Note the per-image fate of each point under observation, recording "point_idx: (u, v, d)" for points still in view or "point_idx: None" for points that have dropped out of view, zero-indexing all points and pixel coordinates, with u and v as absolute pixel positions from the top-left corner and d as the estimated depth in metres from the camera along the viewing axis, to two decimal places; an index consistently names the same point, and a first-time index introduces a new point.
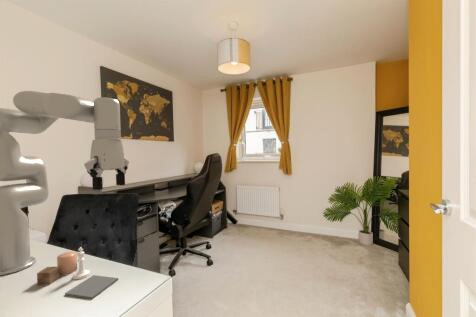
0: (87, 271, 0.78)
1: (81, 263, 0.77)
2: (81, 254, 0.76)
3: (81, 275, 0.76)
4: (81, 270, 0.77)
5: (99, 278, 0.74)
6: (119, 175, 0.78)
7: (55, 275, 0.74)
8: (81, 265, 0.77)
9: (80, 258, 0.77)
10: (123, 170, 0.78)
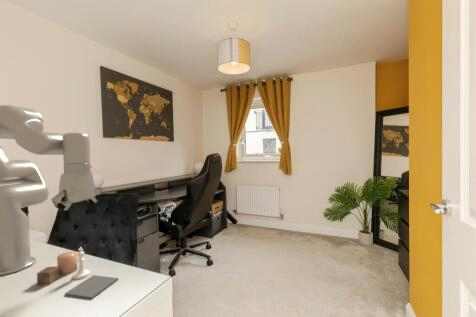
0: (87, 271, 0.78)
1: (81, 263, 0.77)
2: (81, 254, 0.76)
3: (81, 275, 0.76)
4: (81, 270, 0.77)
5: (99, 278, 0.74)
6: (90, 204, 0.81)
7: (55, 275, 0.74)
8: (81, 265, 0.77)
9: (80, 258, 0.77)
10: (94, 199, 0.81)
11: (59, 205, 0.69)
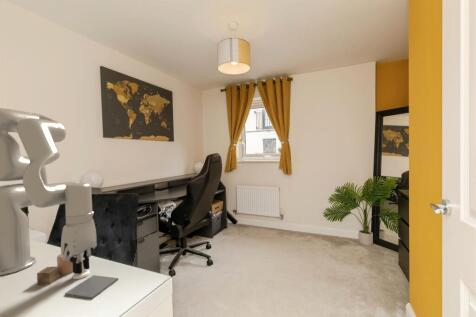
0: (87, 271, 0.78)
1: None
2: (81, 254, 0.77)
3: (81, 274, 0.76)
4: None
5: (99, 278, 0.74)
6: None
7: (55, 275, 0.74)
8: None
9: (80, 258, 0.77)
10: (88, 253, 0.79)
11: (72, 259, 0.73)
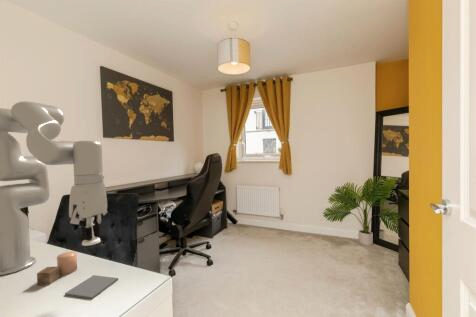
0: (97, 238, 0.71)
1: None
2: (91, 218, 0.69)
3: (91, 241, 0.68)
4: None
5: (99, 278, 0.74)
6: None
7: (55, 275, 0.74)
8: None
9: (90, 223, 0.69)
10: (99, 219, 0.71)
11: (81, 223, 0.66)
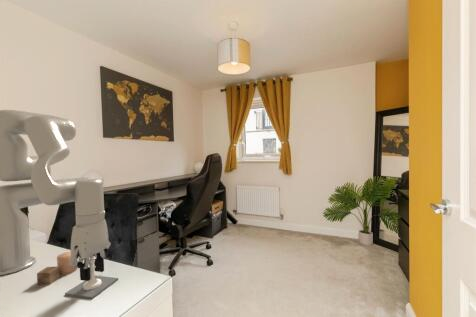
0: (98, 280, 0.71)
1: (92, 272, 0.70)
2: (92, 262, 0.69)
3: (92, 285, 0.69)
4: (92, 279, 0.69)
5: (99, 278, 0.74)
6: (97, 261, 0.72)
7: (55, 275, 0.74)
8: (92, 274, 0.70)
9: (91, 266, 0.69)
10: (103, 254, 0.73)
11: (79, 265, 0.65)
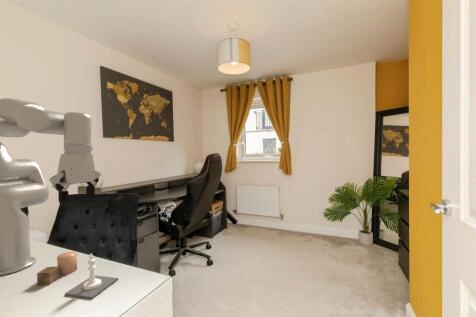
0: (98, 280, 0.71)
1: (92, 272, 0.70)
2: (92, 262, 0.69)
3: (92, 285, 0.69)
4: (92, 279, 0.69)
5: (99, 278, 0.74)
6: (89, 187, 0.79)
7: (55, 275, 0.74)
8: (92, 274, 0.70)
9: (91, 266, 0.69)
10: (93, 183, 0.79)
11: (57, 185, 0.68)
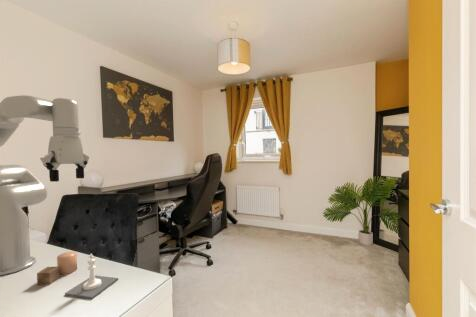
0: (98, 280, 0.71)
1: (92, 272, 0.70)
2: (92, 262, 0.69)
3: (92, 285, 0.69)
4: (92, 279, 0.69)
5: (99, 278, 0.74)
6: (78, 169, 0.86)
7: (55, 275, 0.74)
8: (92, 274, 0.70)
9: (91, 266, 0.69)
10: (82, 164, 0.86)
11: (48, 164, 0.74)
